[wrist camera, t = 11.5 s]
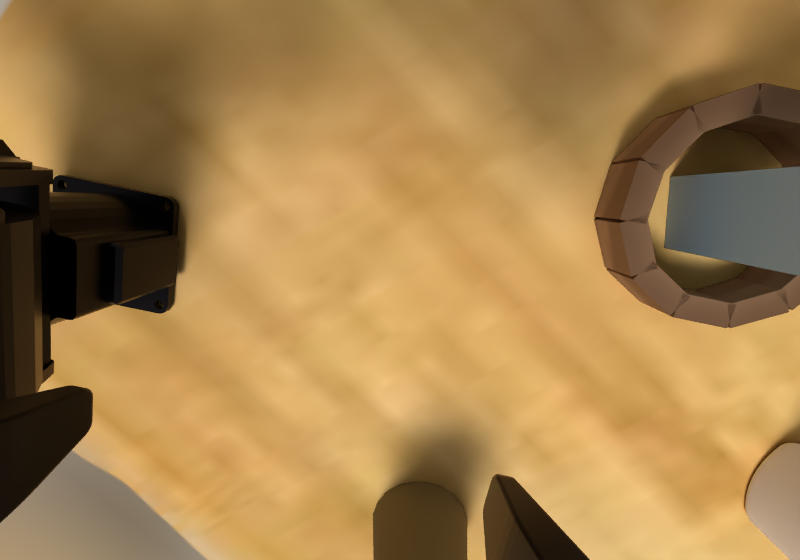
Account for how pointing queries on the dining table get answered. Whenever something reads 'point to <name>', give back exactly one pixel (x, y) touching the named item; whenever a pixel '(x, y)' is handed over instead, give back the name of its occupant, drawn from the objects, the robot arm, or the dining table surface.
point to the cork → (419, 524)
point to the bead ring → (637, 187)
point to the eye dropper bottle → (777, 499)
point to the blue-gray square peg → (738, 217)
